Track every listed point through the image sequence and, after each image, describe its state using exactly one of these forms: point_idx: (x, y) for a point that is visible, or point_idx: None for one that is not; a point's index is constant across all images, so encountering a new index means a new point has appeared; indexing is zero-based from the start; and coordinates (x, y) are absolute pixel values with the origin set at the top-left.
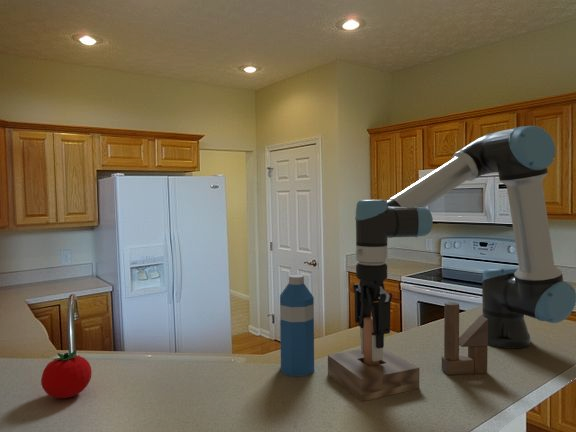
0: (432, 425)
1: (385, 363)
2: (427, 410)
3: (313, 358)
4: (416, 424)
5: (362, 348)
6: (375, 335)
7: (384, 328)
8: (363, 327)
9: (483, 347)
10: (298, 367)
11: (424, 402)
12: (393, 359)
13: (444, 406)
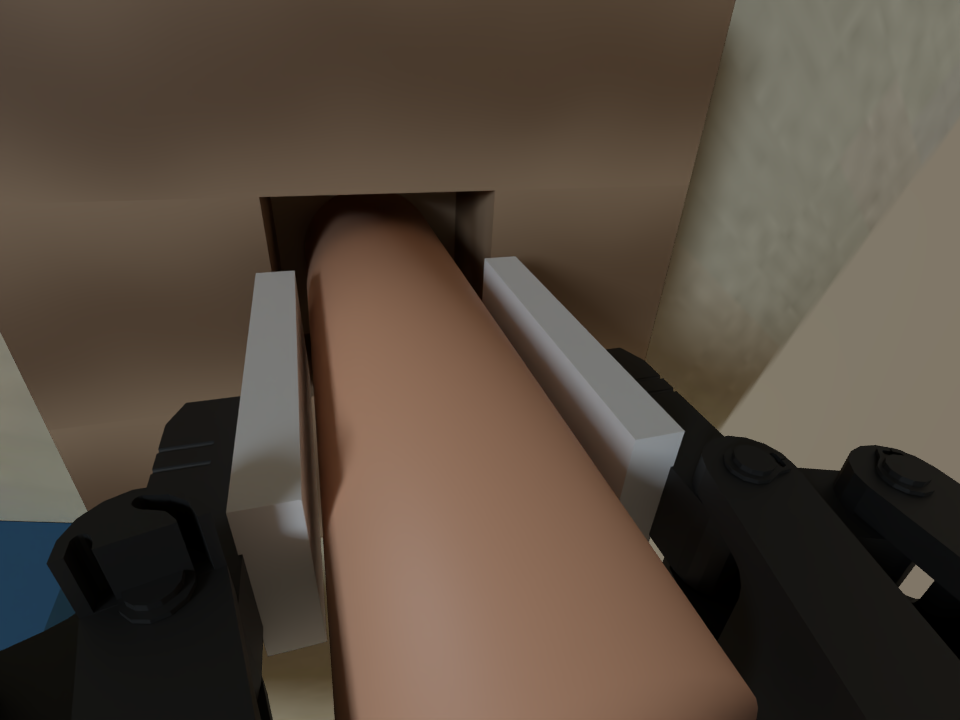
0: (868, 219)
1: (496, 208)
2: (804, 144)
3: (59, 612)
4: (817, 278)
5: (312, 419)
6: (640, 528)
7: (948, 605)
8: (262, 628)
9: None
10: None
11: (756, 91)
12: (448, 47)
13: (857, 3)
